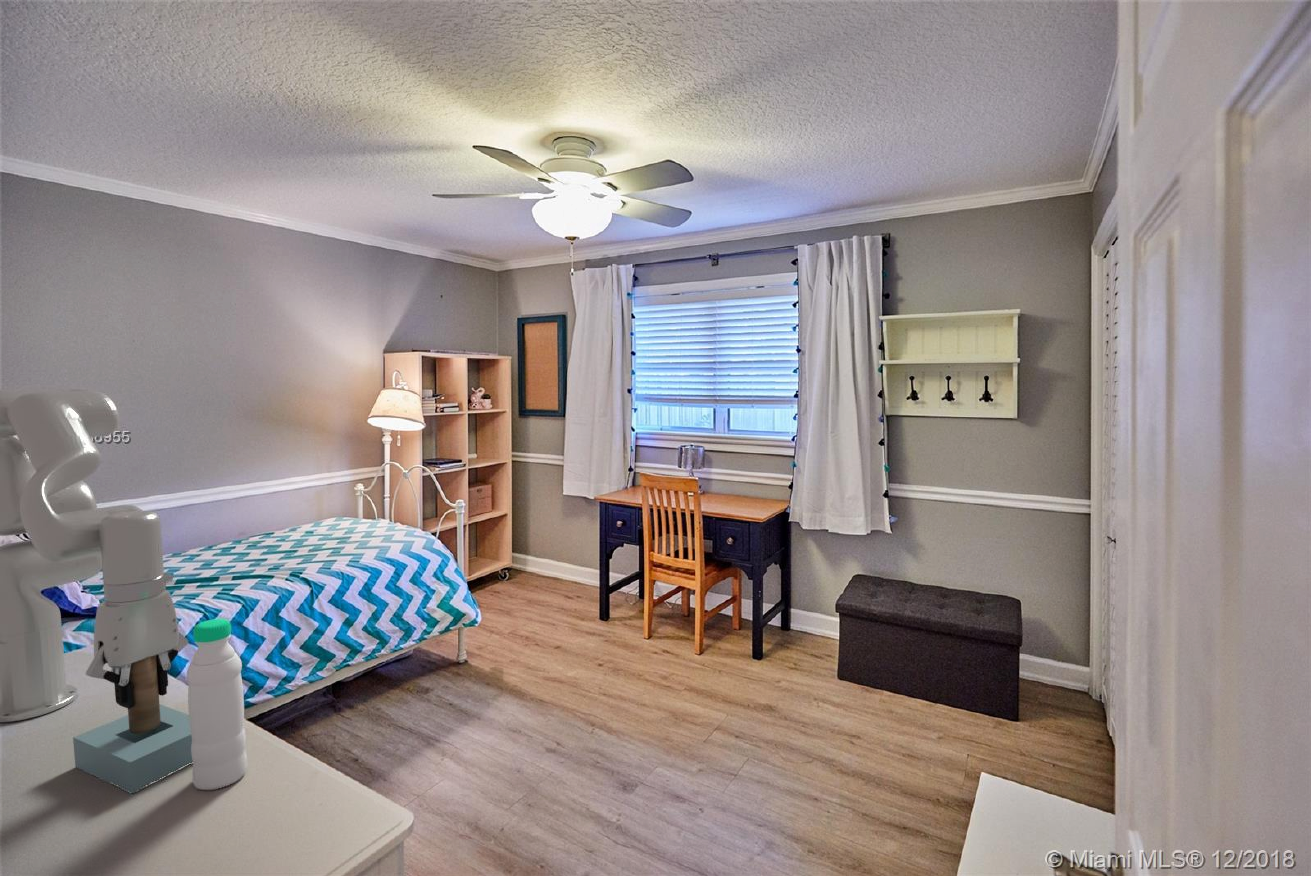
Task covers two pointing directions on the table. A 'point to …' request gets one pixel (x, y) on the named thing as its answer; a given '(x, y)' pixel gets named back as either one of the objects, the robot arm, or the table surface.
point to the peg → (144, 696)
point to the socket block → (135, 750)
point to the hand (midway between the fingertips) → (143, 698)
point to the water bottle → (216, 708)
